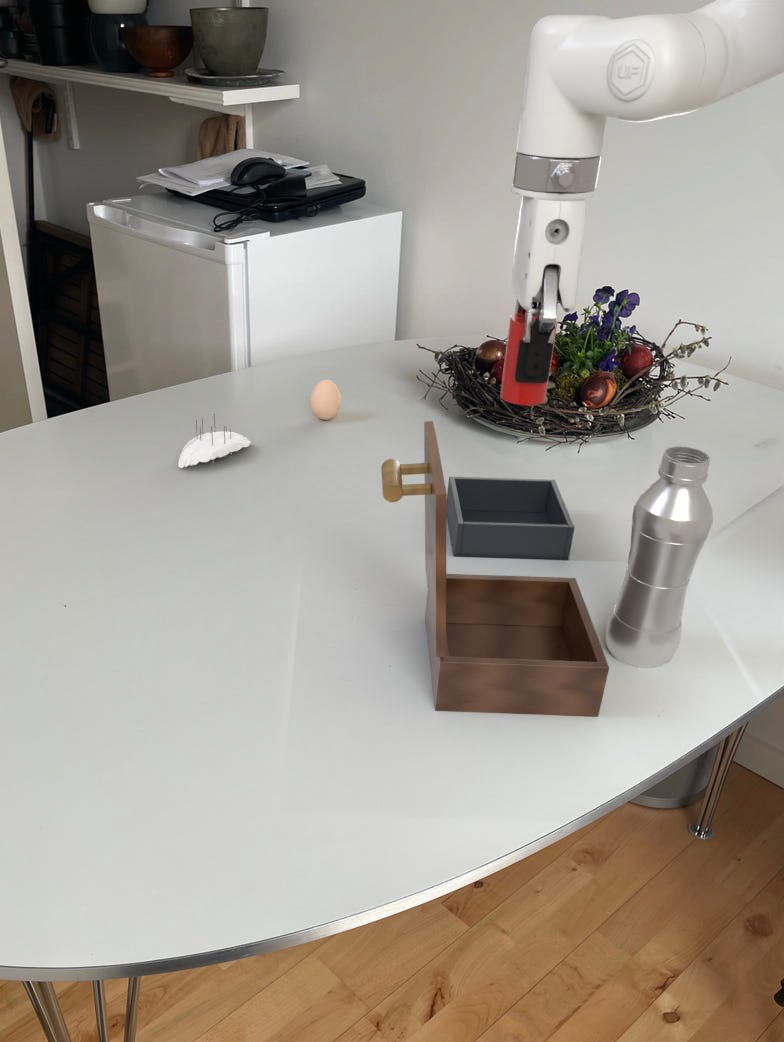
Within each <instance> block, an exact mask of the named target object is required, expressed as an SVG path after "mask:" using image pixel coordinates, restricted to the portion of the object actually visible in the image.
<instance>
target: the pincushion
mask: <svg viewBox="0 0 784 1042" xmlns="http://www.w3.org/2000/svg"><path fill="white" fill-rule="evenodd" d="M215 415H216V414H215V413H214V414H213V421H214V422H213V423H214V425H213V426H211V429H213V427H216V419H215ZM203 420H204V419H201V426H202V427H201V428H202V430H204V421H203ZM195 424H196V425H195V427H196V428H195V429H196V432H198V425H197V420H195ZM201 428H199V435H196V436H195V437H194V438H192V439H190V440H189V441H187V443H185V445H184V447H183V448H182V450H181V453H180V455H179V457H178V462H177V467H178V468H179V469H183V468H184V467H185V468H187V467H189V466H192V467H193V466H196V465H198V464H199V463H208V462H210V460H211V461H212V464H214V463H215V459H216V458H223V457H224V458H227V455H229V454H230V455H232V453H233V452H239V450H241V449H243V448H244V449H245V448H248V447H250V445H251V443H252V441H251V440H250V439H249V438H247V437H246V436H244V435H242V434H239V433H237V432H234V431H231V430H226V427H223V430H222V431H221V430H220V431H211V432H206V433H202V430H201Z"/></svg>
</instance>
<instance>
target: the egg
mask: <svg viewBox="0 0 784 1042" xmlns="http://www.w3.org/2000/svg"><path fill="white" fill-rule="evenodd" d="M309 404H310V405H309V406H310V409H311V411H312V413H313V414H314V415H315V416H316V418H318V419H320V420H324V421H326V420H327V421H328V420H331V419H333V418H334V417H335V416H336V415H338V413H339V412H340V409H341V407H342V395H341V392H340V390H339V387H338V386H337V385H336V384H335V382H333V381H332V380H329V379H322V380H320V381H319V382H317V383H316V384H315V386H314V387H313V388H312V391H311V394H310V399H309Z"/></svg>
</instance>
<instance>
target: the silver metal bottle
mask: <svg viewBox="0 0 784 1042" xmlns="http://www.w3.org/2000/svg"><path fill="white" fill-rule="evenodd" d="M660 462H661V463H660V464H659V466H658V470H657V474H658V476H659V478H658V479H657V480H656V481H655V482H653V483H652V484H651V485H650V486H648V487H647V488H646V490H644V492H642V493H641V494H640V495H639V498H637V501H636V502H635V504H634V505H633V510H632V511H633V512H632V517H631V532H630V533H631V534H630V547H629V552H628V558H627V565H626V569H625V575H624V579H623V582H622V584H621V588H620V591H619V594H618V597H617V600H616V602H615V604H614V606H613V608H612V611H611V612H610V615H609V617H608V620H607V622H606V624H605V642H604V643H605V645H606V647H607V649H608V651H609V653H610V654H611V656H613V657H614V658H615V659H616V660H618V661H619V662H621V663H623V664H624V665H628V666H631V667H634V668H638V669H657V668H660V667H663V666H664V665H666V664H667V663H669V662H670V661H672V659H673V658H674V657H675V654H676V653H677V650H678V648H679V646H680V644H681V637H682V617H683V612H684V606H685V602H686V601H685V600H686V595H687V590H688V589H687V588H688V587H689V584H690V581H691V577H692V575H693V572H694V568H695V565H696V562H697V560H698V558H699V555H700V553H701V552H702V549H703V547H704V545H705V542H706V540H707V539H708V536H709V533H710V532H711V529H712V525H713V523H714V517H713V515H714V514H713V507H712V505H711V502H710V499H709V497H708V495H707V493H706V492H705V489H704V487H703V484H704V483H706V482H707V480H708V477H709V476H708V475H709V473H708V471H709V466H710V462H711V456H710V455H709V454H708V453H706V452H705V451H703V450H701V449H698V448H694V447H690V446H681V445H679V446H670V447H667V448H665V449H664V451H663V453H662V457H661V461H660Z"/></svg>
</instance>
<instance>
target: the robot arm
mask: <svg viewBox="0 0 784 1042" xmlns="http://www.w3.org/2000/svg"><path fill="white" fill-rule="evenodd" d="M528 45H529V46H528V52H527V60H526V69H525V77H524V86H523V93H522V102H521V108H520V109H521V110H520V117H519V125H518V134H517V143H516V151H515V158H514V166H513V175H512V182H511V183H512V184H511V192H512V193H513V194H514V195H518V196H521V202H520V206H519V215H518V223H517V229H516V234H515V235H516V236H515V244H514V251H513V260H512V268H511V269H512V270H511V290H512V292H513V294H514V296H515V298H516V302H515V307H514V314H518V313H526V315H525V326H524V336H523V340H520V342H519V349H518V357H517V364H516V371H515V380H516V381H517V382H519V383H546V382H547V381H548V382H549V380H548V376H549V377H550V373H549V370H550V371H551V367H550V363H551V364H552V361H551V357H552V358H553V354H552V351H553V352H554V348H553V344H554V345H555V341H554V334H555V325H556V319H558V317H557V316H558V304H559V305H560V307H561V308H562V310H563V312H565V313H570V312H572V311H573V310H574V309H575V307H576V301H577V294H578V287H579V279H580V270H581V262H582V254H583V245H584V236H585V226H586V210H587V209H586V208H587V207H586V204H587V203H586V202H587V199H591V198H593V197H595V195H596V189H597V184H598V179H599V178H598V177H599V172H600V166H601V160H602V152H603V147H604V140H605V135H606V129H607V123H608V118H612V119H614V120H618V121H623V122H629V123H646V122H651V121H657V120H662V119H665V118H669V117H674V116H675V117H676V116H681V115H686V114H690V113H693V112H696V111H699V110H701V109H704V108H706V107H708V106H711V105H713V104H716V103H717V102H720V101H722V100H725V99H727V98H729V97H731V96H733V95H736V94H738V93H740V92H742V91H744V90H747V89H749V88H751V87H753V86H757V85H758V84H762V83H763V82H765V81H768V80H770V79H772V78H774V77H776V76H778V75H781V74H784V0H714V1H712V2H710V3H707V4H706V5H704V6H702V7H699V8H698V9H696V10H693V11H690V12H679V13H676V12H675V13H674V12H673V13H672V12H671V13H649V14H640V15H635V16H627V17H621V18H612V17H609V16H606V15H596V14H594V15H592V14H551V15H550V14H549V15H545V16H543V17H541V18H540V19H539V20H538V21H536V23H535V24H534V26H533V28H532V31H531V33H530V39H529V44H528ZM514 314H513V315H514ZM533 315H540V316H539V319H535V321H534V322H533V325H532V321H533ZM553 341H554V342H553Z"/></svg>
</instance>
